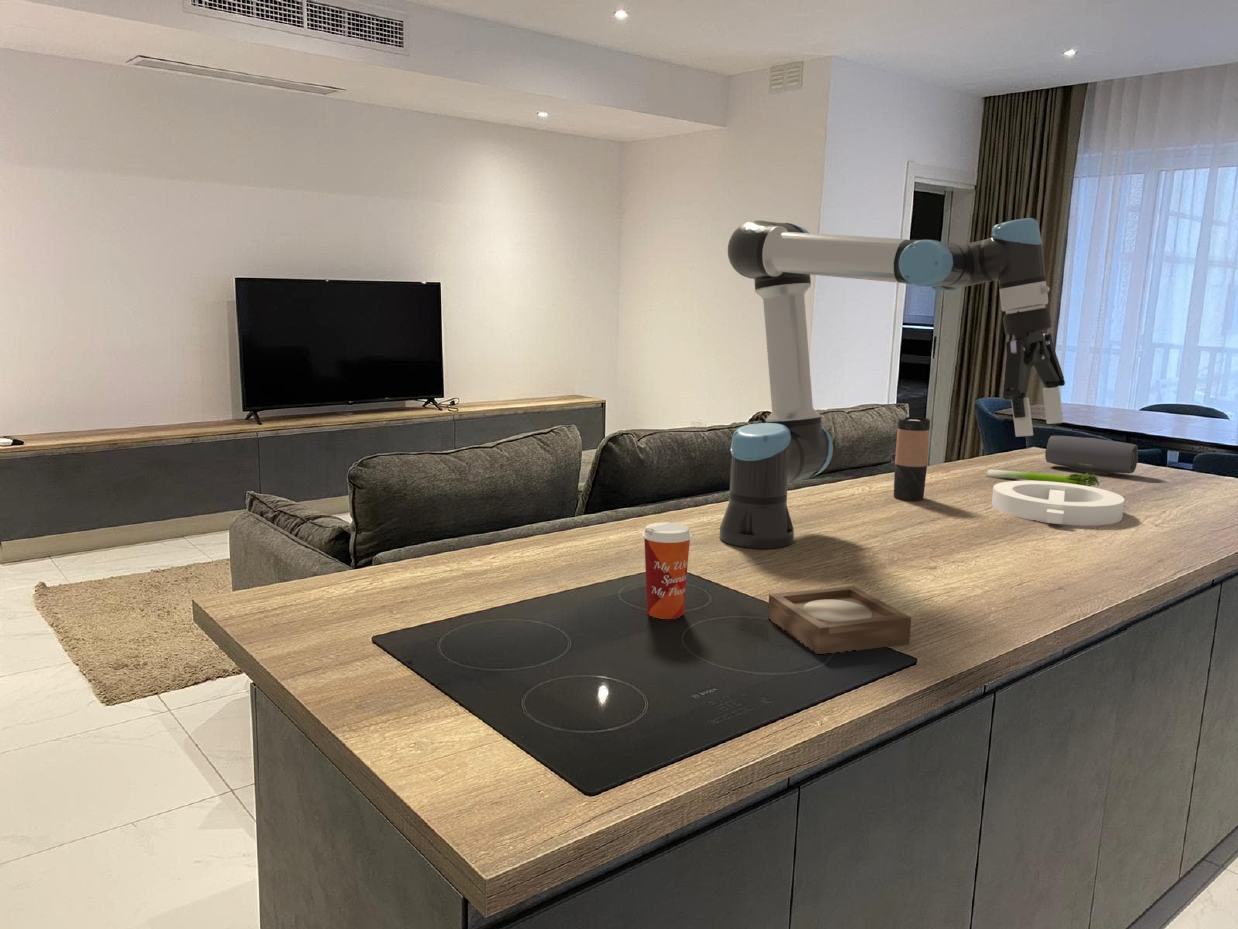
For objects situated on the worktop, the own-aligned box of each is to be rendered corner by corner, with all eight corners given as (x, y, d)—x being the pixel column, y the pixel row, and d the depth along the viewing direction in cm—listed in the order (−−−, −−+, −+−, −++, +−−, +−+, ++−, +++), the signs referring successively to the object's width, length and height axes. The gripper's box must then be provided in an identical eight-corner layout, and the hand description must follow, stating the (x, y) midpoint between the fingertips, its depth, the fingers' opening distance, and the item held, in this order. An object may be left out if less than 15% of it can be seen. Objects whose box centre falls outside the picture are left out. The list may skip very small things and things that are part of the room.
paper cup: (656, 625, 136) (658, 536, 133) (632, 610, 143) (633, 524, 140) (699, 618, 140) (702, 530, 137) (674, 603, 146) (676, 519, 144)
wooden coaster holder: (767, 618, 140) (769, 594, 139) (851, 609, 144) (853, 585, 143) (818, 655, 126) (819, 628, 125) (909, 643, 130) (911, 617, 129)
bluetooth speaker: (1136, 475, 259) (1140, 441, 257) (1127, 479, 253) (1131, 444, 251) (1053, 464, 275) (1057, 432, 273) (1043, 468, 268) (1046, 435, 266)
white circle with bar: (1056, 496, 232) (1058, 478, 231) (1150, 522, 206) (1153, 502, 205) (966, 502, 223) (968, 483, 222) (1053, 530, 197) (1055, 509, 196)
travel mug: (926, 502, 221) (932, 421, 217) (893, 500, 223) (899, 420, 219) (922, 495, 229) (928, 417, 225) (891, 493, 230) (896, 416, 226)
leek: (995, 481, 258) (1104, 492, 234) (982, 487, 254) (1092, 498, 230) (994, 461, 257) (1103, 469, 233) (981, 466, 252) (1091, 475, 229)
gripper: (1017, 311, 146) (1033, 440, 148) (1074, 301, 163) (1088, 416, 165) (972, 319, 151) (988, 442, 154) (1032, 308, 168) (1046, 419, 170)
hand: (1040, 429), depth 159 cm, fingers open, 13 cm apart
